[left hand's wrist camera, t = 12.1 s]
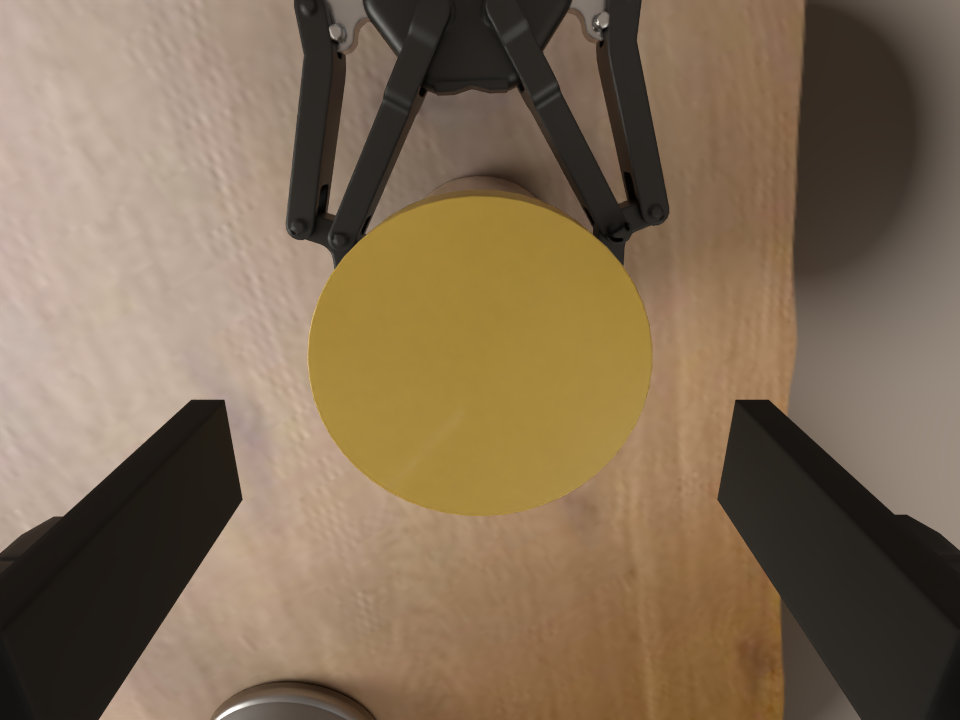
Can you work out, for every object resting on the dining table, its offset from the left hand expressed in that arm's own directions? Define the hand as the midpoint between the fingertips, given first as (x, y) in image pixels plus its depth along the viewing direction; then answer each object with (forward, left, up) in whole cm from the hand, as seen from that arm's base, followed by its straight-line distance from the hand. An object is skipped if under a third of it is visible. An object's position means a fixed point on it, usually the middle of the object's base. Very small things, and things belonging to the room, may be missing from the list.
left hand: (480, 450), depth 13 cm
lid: (0, 0, -5) cm, 5 cm away
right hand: (-4, 0, -15) cm, 16 cm away
